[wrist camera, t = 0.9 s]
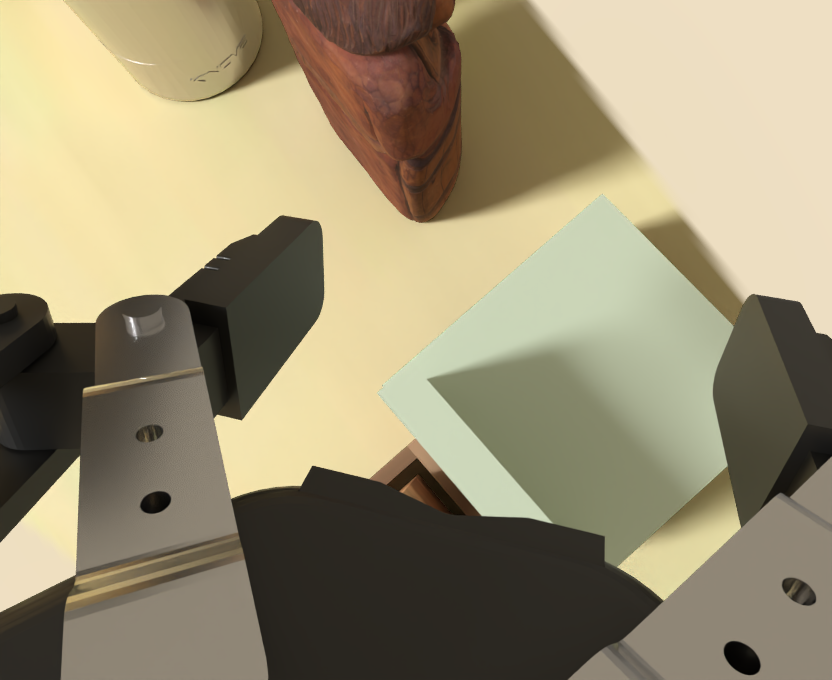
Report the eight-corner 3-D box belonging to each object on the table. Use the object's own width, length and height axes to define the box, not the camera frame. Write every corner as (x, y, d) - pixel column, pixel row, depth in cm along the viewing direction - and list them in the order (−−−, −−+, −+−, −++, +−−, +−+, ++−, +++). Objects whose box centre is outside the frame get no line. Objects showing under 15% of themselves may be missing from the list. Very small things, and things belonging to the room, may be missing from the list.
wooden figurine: (496, 182, 37) (535, -52, 19) (408, 244, 36) (364, 65, 19) (383, 37, 38) (322, -302, 21) (299, 95, 38) (164, -197, 20)
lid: (384, 386, 28) (356, 369, 20) (597, 201, 28) (652, 113, 21) (568, 600, 26) (617, 674, 18) (790, 397, 27) (932, 383, 19)
